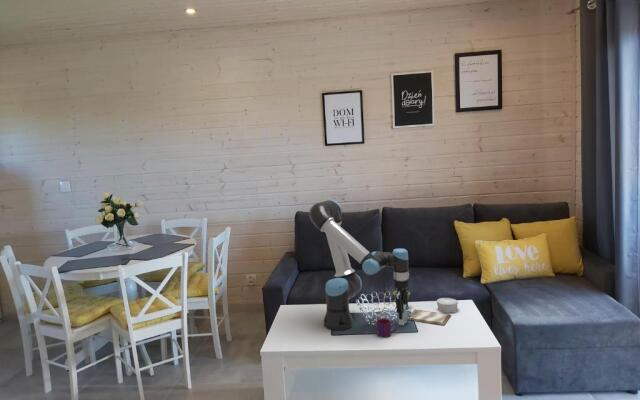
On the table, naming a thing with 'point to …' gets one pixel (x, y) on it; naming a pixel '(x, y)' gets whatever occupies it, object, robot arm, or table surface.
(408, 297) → the plant pot
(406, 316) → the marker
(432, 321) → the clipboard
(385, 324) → the mug
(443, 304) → the ramekin
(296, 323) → the table surface
